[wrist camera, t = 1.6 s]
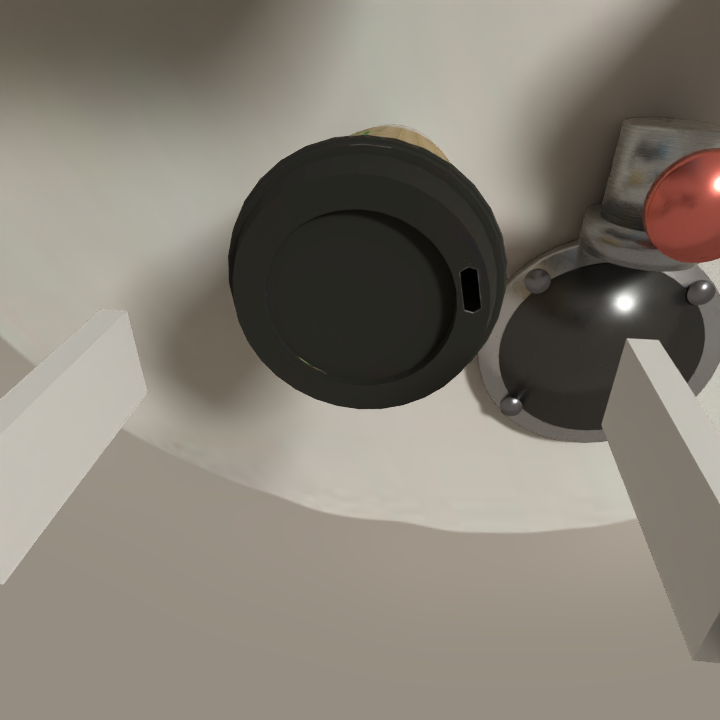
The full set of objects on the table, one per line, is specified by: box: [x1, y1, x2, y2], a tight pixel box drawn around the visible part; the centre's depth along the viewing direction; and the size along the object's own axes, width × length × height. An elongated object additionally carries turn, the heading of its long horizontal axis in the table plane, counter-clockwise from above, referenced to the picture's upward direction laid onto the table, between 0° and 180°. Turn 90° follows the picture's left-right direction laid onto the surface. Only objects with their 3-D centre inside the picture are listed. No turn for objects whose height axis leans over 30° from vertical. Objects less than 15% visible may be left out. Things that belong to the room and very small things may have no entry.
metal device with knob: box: [478, 117, 720, 443], centre depth 30 cm, size 20×14×9 cm
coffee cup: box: [228, 125, 507, 409], centre depth 25 cm, size 10×10×15 cm
